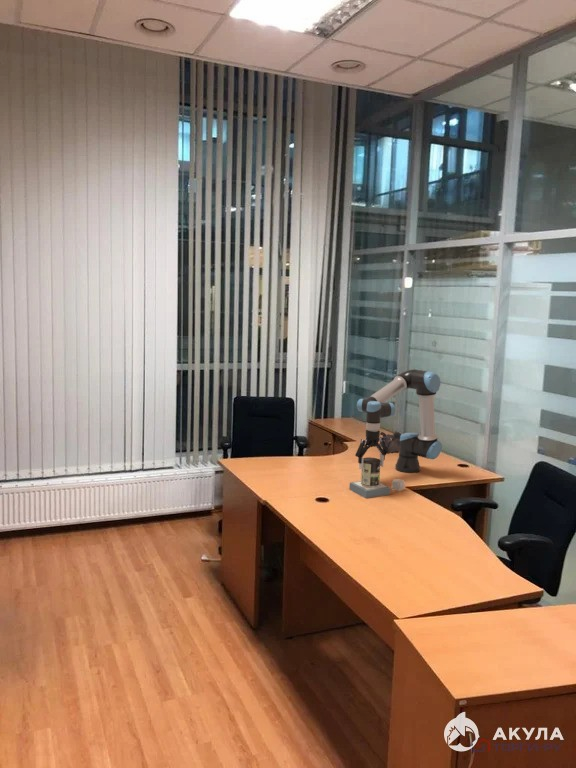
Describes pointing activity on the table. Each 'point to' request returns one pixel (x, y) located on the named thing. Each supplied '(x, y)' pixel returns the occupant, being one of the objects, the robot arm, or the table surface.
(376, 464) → the coffee can
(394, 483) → the block
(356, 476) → the table surface
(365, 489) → the plinth
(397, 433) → the dark grey lumpy piece
